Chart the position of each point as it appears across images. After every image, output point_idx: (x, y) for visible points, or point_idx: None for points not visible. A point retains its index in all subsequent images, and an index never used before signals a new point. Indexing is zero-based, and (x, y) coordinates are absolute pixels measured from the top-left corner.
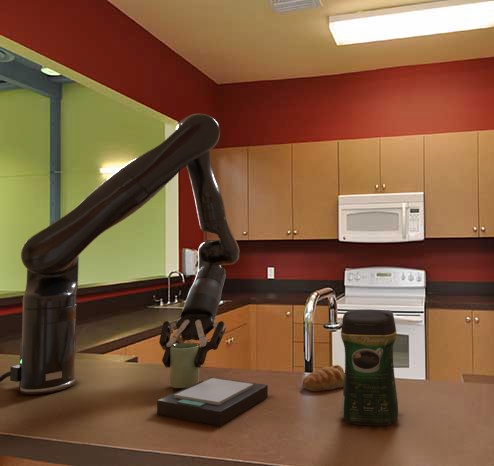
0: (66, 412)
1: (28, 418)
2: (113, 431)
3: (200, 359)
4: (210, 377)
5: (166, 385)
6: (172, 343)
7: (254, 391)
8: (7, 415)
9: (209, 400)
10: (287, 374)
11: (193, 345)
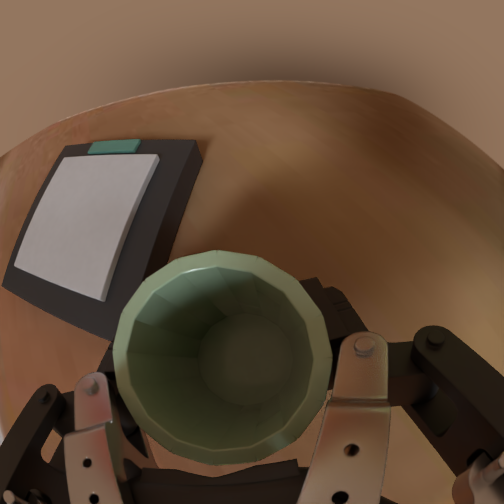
0: (403, 145)
1: (428, 126)
2: (239, 103)
3: None
4: None
5: None
6: (343, 359)
7: (17, 240)
8: (464, 137)
9: (78, 156)
10: None
11: (200, 441)
